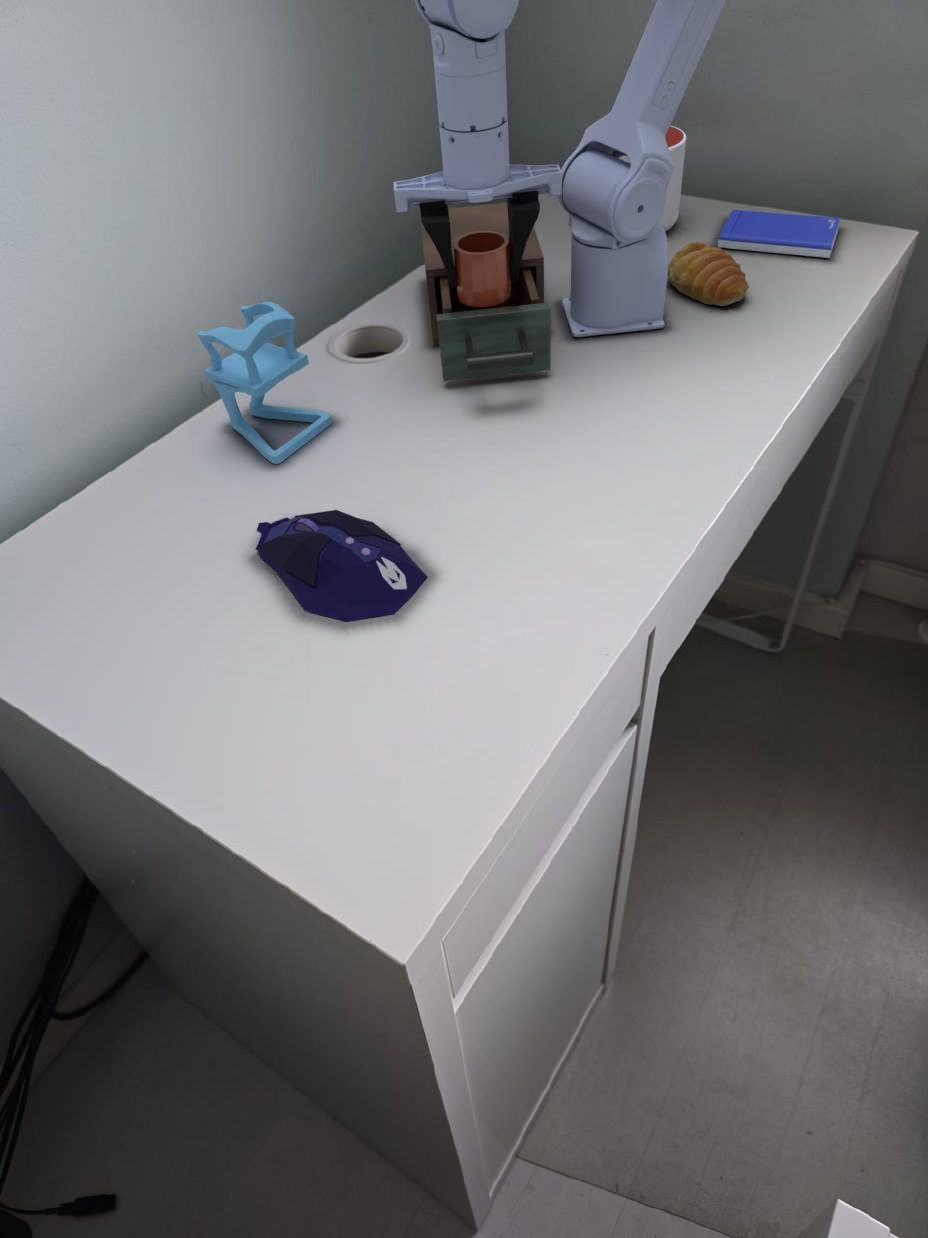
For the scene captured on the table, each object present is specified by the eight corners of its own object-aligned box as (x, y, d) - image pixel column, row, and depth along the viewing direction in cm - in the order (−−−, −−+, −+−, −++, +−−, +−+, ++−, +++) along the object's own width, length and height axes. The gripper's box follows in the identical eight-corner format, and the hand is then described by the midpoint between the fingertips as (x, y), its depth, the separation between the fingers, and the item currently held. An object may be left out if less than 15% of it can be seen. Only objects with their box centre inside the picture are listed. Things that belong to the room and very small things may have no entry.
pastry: (762, 299, 92) (769, 263, 89) (710, 317, 91) (714, 281, 88) (708, 266, 98) (712, 232, 96) (658, 283, 97) (660, 248, 94)
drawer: (558, 397, 81) (558, 334, 76) (446, 409, 81) (439, 346, 76) (532, 304, 93) (531, 246, 89) (436, 315, 93) (430, 256, 89)
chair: (270, 399, 86) (239, 281, 77) (334, 422, 82) (308, 301, 73) (213, 439, 82) (173, 318, 73) (277, 465, 78) (243, 342, 69)
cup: (674, 207, 110) (683, 120, 103) (680, 241, 103) (689, 150, 96) (594, 210, 111) (597, 124, 104) (595, 243, 105) (598, 154, 97)
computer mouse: (372, 640, 62) (363, 600, 59) (220, 574, 68) (205, 535, 65) (442, 562, 67) (437, 522, 65) (295, 507, 74) (285, 468, 71)
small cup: (507, 279, 85) (505, 227, 81) (513, 304, 81) (512, 250, 78) (455, 285, 85) (451, 233, 81) (459, 310, 81) (455, 257, 78)
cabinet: (544, 334, 91) (543, 257, 85) (433, 345, 91) (425, 269, 85) (527, 272, 101) (525, 199, 95) (427, 283, 101) (419, 211, 95)
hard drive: (841, 216, 101) (733, 207, 105) (832, 245, 96) (718, 235, 100) (838, 229, 102) (731, 220, 106) (829, 259, 97) (716, 248, 101)
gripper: (386, 146, 69) (407, 308, 79) (568, 126, 69) (566, 290, 79) (385, 118, 74) (405, 273, 84) (555, 99, 74) (555, 257, 84)
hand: (483, 279), depth 82 cm, fingers closed on small cup, 5 cm apart
